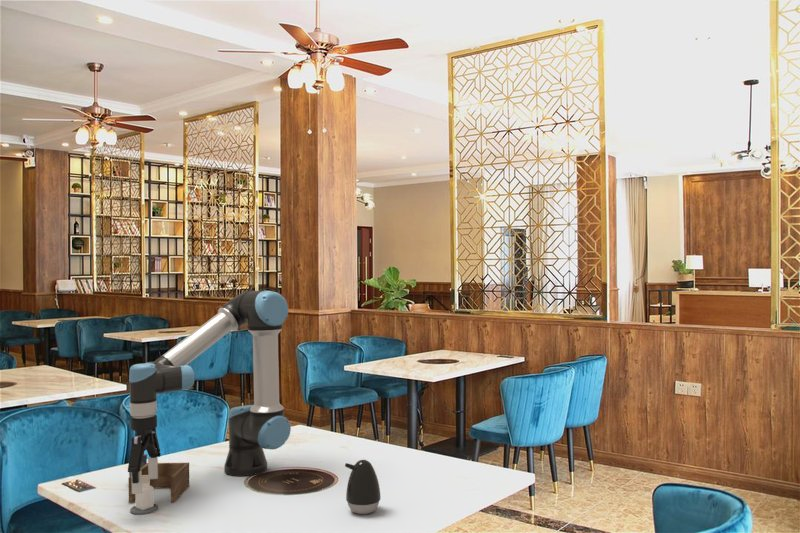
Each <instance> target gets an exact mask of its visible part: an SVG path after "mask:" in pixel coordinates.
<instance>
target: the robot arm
mask: <svg viewBox="0 0 800 533" xmlns="http://www.w3.org/2000/svg"><path fill="white" fill-rule="evenodd" d="M288 314H289V305H288V301H287V300H286V299H285V297H284V296H283V295H282V294H280V293H279V292H276V291H272V290H246V291H243V292H241V293H239V294H238V295H236V296H235V297H233V298H231V299H230V300H229V301H227V302H226V303H224V304H223V305H222V306H221V307H219V308H218V310H217V314H215V315H214V316H212V317H211V318H209V319H208V320H207V321H206V322H205V323H203V324H202V325H200V326H199V327H198V328H196V329H195V330H194V331H193V332H191V333H190V334H189V335H187V336H186V337H185V338H183V339H182V340H181V341H180V342H178V343H177V344H175V345H174V346H173V347H172V348H170V349H169V350H168V351H167V352H165V353H164V354H162V355H161V356H159V357H158V358H157V359H155V361H149V362H145V363H136V364H135V363H134V364H133V365H131V366H130V368H129V373H128V374H129V375H128V378H129V379H128V384H129V386H128V387H129V405H128V408H129V415H130V416H131V417H129V418H130V420H129V422H130V424H129V426H130V430H131V431H134V432H135V435H136V436H131V444H130V446H131V447H130V452H129V459H128V467H127V473H129V472H131V480H132V494H141V493H142V471H140V468H141V464H142V460H143V455H144V453H145V451H146V452H147V456H148V457H147V463H148V475H150V479H158V463H159V462H158V458H159V457H161V456H162V455H161V448H160V444H159V440H158V439H159V438H158V435H157V427H158V416H157V415H156V414H157V413H158V405H157V403H158V401H157V400H158V399H157V398H158V397H157V396H158V394H163V393H165V394H166V393H170V392H178V391H182V392H183V391H184V390H188V389H191V388H193V386H194V384H195V371H194V369H193V368H192V366H191V365H189V364H190V363H191V362H193V361H194V360H195V359H196V358H198V357H199V356H200V355H202V353H204V352H205V351H207V350H208V349H210V348H211V347H212V346H213V345H214V344H216V343H217V342H218V341H219V340H221V339H222V338H223V337H224V336H226V335H227V334H229V333H230V332H231V331H237V330H238V329H240V328H241V327H243V326H244V325H247V331H248V332H249V333H250V334H251V335H252V353H253V354H252V359H253V363H252V364H253V370H252V372H253V404H247V405H241V406H235V407H231V409H230V410H229V411H228V412H229V413H228V444H229V446H228V453H227V455H226V459H225V462H224V466H223V467H224V469H223V470H224V474H226V475H228V476H234V477H247V476H255V475H259V474H262V473H264V472H266V471H268V460H267V457H266V455H265V451H264V450H277V449H279V448H281V447H282V446H284V445H285V443H286V442H288V440H289V437H290V435H291V432H292V431H291V430H292V428H291V423H290V421H289V420H288V418H287V417H286V416H285V407H284V406H283V405H282V404H281V403H280V375H279V374H280V372H279V371H280V368H279V366H280V365H279V334H280V332H282V330H283V323H284V322H285V321H286V319H287V318H288ZM254 474H255V475H254Z"/></svg>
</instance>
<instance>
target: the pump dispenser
mask: <svg viewBox="0 0 800 533" xmlns="http://www.w3.org/2000/svg"><path fill="white" fill-rule="evenodd" d="M344 467H345V468H346V469H347V468H348V469H350V470H351V471H350V474H349V478H348V480H347V486H346V494H345V500H346V502H347V505H348V508H349V509H350V510H351V511H352V512H353V513H355V514H358V515H368V514H369V515H370V514H372V513H373V512H374V511H376V510H377V508H378V506H379V504H380V500H381V488H380V483H379V478H378V476H377V473H376V471H375V468H374V466H373V465H372V463H371V462H370V461H368V460H367V459H359V460H357V461H356V462H355V464H352V463H345V465H344Z"/></svg>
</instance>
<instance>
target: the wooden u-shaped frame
mask: <svg viewBox="0 0 800 533" xmlns="http://www.w3.org/2000/svg"><path fill="white" fill-rule="evenodd" d="M140 471H142V475H148V462H147V464H145V465H144V466H143V467H142V468H140ZM150 486H152V487H153V489H169V488H170V503H171V504H174V503H176V502H177V501H178V500H179V499H180V498H181V496H182V495H183V494H184V493H185V492H186V491H187V490H189V488H190V462H158V479H150ZM133 503H135V494H132V480H131V476H130V477H129V476H128V504H133Z"/></svg>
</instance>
